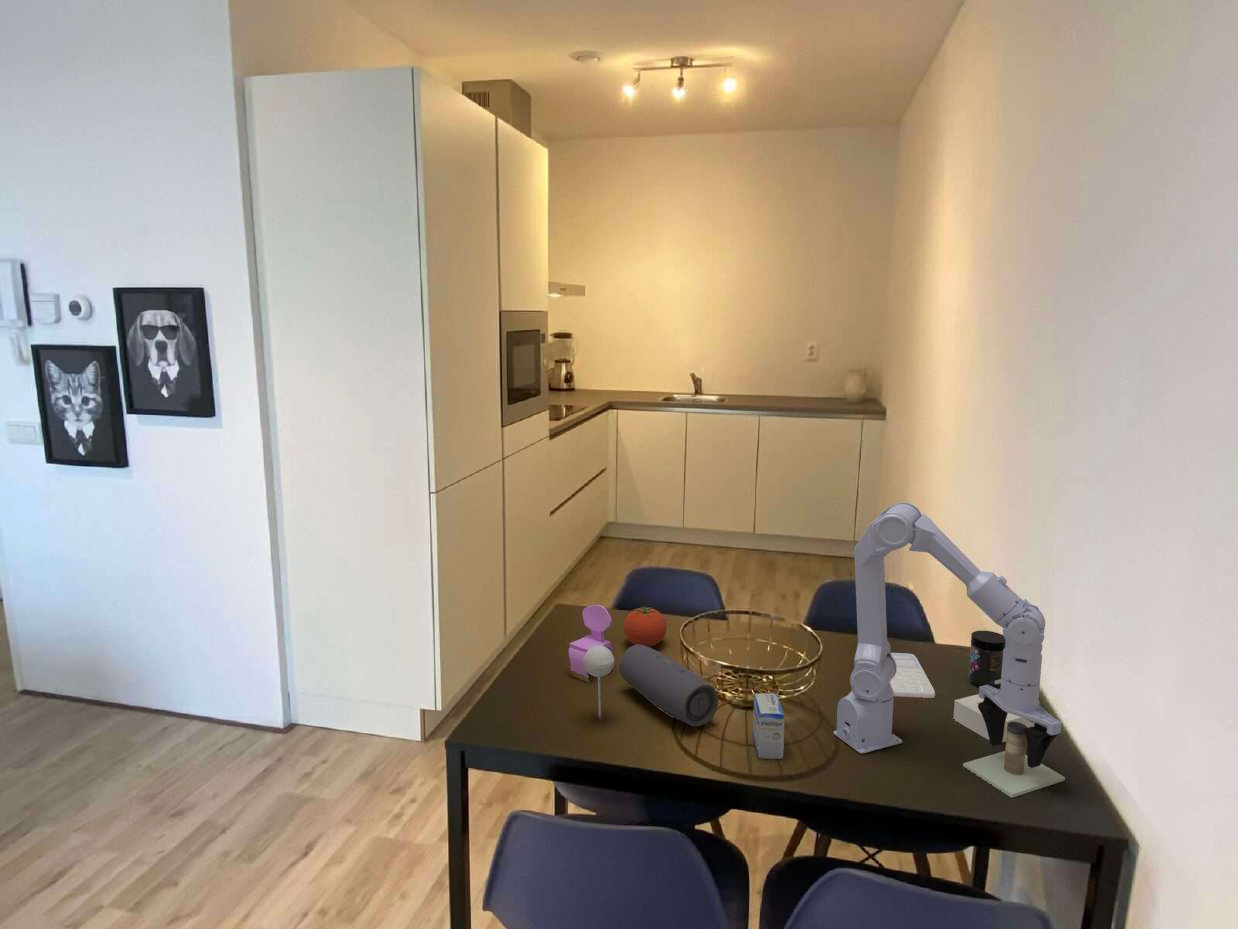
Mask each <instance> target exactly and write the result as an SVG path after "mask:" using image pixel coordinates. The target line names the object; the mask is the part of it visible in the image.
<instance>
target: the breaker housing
mask: <svg viewBox="0 0 1238 929" xmlns="http://www.w3.org/2000/svg"><path fill="white" fill-rule="evenodd" d="M983 700H984V699H982V698H980V697H979V693H977V694H975V695H974V694H973V695H969V696H966V697H962V698H958V699H955V700H954V707H953V708H954V709H953V719H955V720H954V721H955V722H957V723H958V722H959V724H960V725H962V726H964V727H965V728H967V729H969V730H970V731H972V732H974V733H976V734H978V735H979V736H981V737H982V738H985V739H986V740H988V742H990V740H989V736H988V731H987V727H986V724H985V721H984V718H983V716H982V714H981V712H980V710H979V709H978V704H979V702H982V701H983ZM1009 722H1019V723H1022V724H1024V725H1026V726H1027V728H1029V727H1032V726H1033V727H1034V723H1032V722H1030V721H1028V720H1026V719H1024V718H1022V717H1019V716H1016V715H1013V714H1010V713H1008V714H1007V717H1006V721H1005V726H1004V736H1003V740H1002V743H1001V744H1003V743H1006V737H1007V725H1008V723H1009Z"/></svg>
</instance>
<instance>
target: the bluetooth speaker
mask: <svg viewBox="0 0 1238 929" xmlns="http://www.w3.org/2000/svg"><path fill="white" fill-rule="evenodd" d="M618 671H619V674H620V675H621V678H622V679H623V680H624V681H625V682H626V683H627V684H628V685H630V687H632V688H633V689H634V690H636V691H637V692H638V693H640V695H642V696H643V697H644V698H645V699H646V700H647V701H650V702H651V703H653V704H654V705H656V706H657V707H659V708H661V709H662V710H663V711H664V712H666V713H668V714H669V715H671V716H673V717H676V718H678V719H677V720H680V721H681V722H683V723H685V724H687V725H689V726H690V727H691V726H692V727H701V726H703V725H705V724H707V723H709V722H710V721H711V720H712V719H713V717H714V716H715V714H716V712H717V710H718V706H719V697H718V696H719V695H718V692H717V690H716V689H715V688H714V687H713V685H711V684H710V683H709V682H708V681H707V680H705V679H703V678H702V677H701V676H699V675H698V674H696V673H695V672H693V671H692V670H690V669H688V668H687V667H686V666H684V665H682V664H680V662H678V661H676V660H674V659H673V658H670V657H668V656H667V655H666V654H663V653H661V652H660V651H657V650H656V649H654V648H652V647H647V646H644V645H640V644H638V645H635V644H633V645H631V646H630V647H628V648H627V649H626V650H625V651H624V653H623V655H622V657H621V658H620V663H619V666H618ZM650 702H649V703H650ZM651 703H650V704H651ZM653 704H652V705H653ZM654 705H653V706H654ZM664 712H663V713H664Z"/></svg>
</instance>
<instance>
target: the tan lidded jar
mask: <svg viewBox="0 0 1238 929" xmlns="http://www.w3.org/2000/svg"><path fill="white" fill-rule="evenodd" d="M1025 728H1027V726H1026V725H1024V724H1022V723H1019V722H1009V723H1008V725H1007V737H1006V742H1005V750H1004V751H1005V761H1004V770H1005V771H1006V772H1008V773H1010V774H1014V775H1021V774H1023V773H1024V763H1025V755H1026V750H1027V739H1026V735H1025V732H1024V729H1025Z"/></svg>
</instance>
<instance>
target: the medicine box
mask: <svg viewBox="0 0 1238 929" xmlns="http://www.w3.org/2000/svg"><path fill="white" fill-rule="evenodd" d="M752 737H753V741H754V745H755V749H756V752H757V757H758V758H759V759H768V760H769V759H770V760H772V759H775V760H779V759H780V760H781V759H784V749H785V745H784V744H785V742H784V740H785V713H784V711H783V708H782V705H781V703H780V699H779V696H778V693H754V695H753V715H752Z"/></svg>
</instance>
